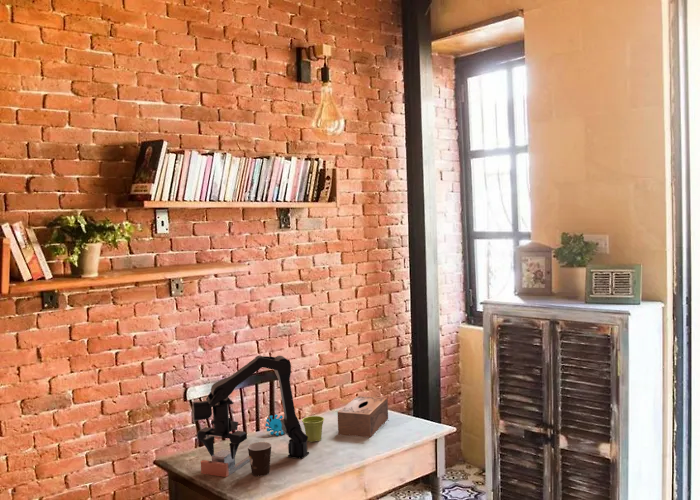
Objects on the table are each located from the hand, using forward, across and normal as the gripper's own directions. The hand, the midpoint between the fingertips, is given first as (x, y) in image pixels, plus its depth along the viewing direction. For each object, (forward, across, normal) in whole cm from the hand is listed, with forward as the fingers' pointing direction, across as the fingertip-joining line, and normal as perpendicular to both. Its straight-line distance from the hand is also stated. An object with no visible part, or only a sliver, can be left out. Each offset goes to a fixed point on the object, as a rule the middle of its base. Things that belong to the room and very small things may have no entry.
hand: (222, 457), depth 247 cm
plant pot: (+4, -19, -39) cm, 43 cm away
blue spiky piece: (+4, -1, -41) cm, 42 cm away
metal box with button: (+4, 0, 0) cm, 4 cm away
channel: (+4, 0, -3) cm, 5 cm away
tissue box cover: (+5, -33, -61) cm, 69 cm away
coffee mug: (+4, -16, 0) cm, 17 cm away
